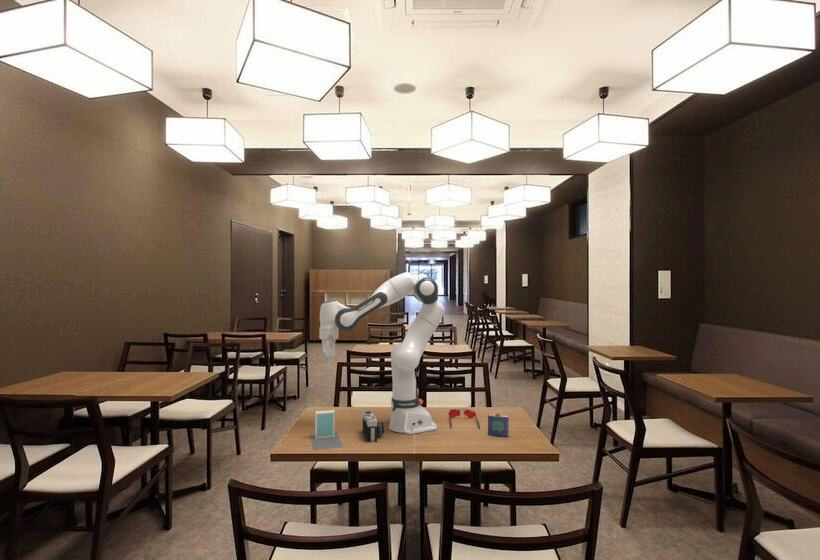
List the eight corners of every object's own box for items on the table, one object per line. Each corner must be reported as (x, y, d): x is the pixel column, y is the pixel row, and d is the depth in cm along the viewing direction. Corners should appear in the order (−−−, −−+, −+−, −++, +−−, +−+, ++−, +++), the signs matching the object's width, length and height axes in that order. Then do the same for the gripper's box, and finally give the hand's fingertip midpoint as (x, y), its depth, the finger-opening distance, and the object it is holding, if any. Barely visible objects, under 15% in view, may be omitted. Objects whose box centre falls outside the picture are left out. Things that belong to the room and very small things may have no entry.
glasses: (475, 418, 220) (475, 408, 220) (480, 429, 203) (480, 419, 203) (448, 418, 220) (448, 408, 220) (450, 429, 204) (450, 418, 204)
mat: (337, 433, 196) (337, 432, 196) (343, 448, 178) (343, 447, 178) (310, 435, 192) (310, 434, 192) (313, 451, 175) (313, 450, 175)
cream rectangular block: (333, 434, 192) (333, 410, 192) (334, 436, 190) (334, 411, 190) (315, 436, 190) (315, 411, 190) (315, 438, 188) (315, 413, 188)
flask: (508, 435, 195) (508, 411, 195) (508, 437, 192) (508, 413, 192) (487, 433, 197) (488, 410, 197) (487, 435, 194) (487, 411, 194)
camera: (385, 442, 185) (384, 418, 185) (363, 444, 184) (363, 420, 184) (382, 431, 199) (382, 409, 199) (362, 432, 198) (362, 410, 198)
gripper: (338, 337, 196) (338, 367, 196) (333, 332, 216) (332, 360, 216) (324, 337, 195) (324, 368, 194) (320, 332, 214) (319, 360, 214)
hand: (328, 364), depth 205 cm, fingers open, 6 cm apart
